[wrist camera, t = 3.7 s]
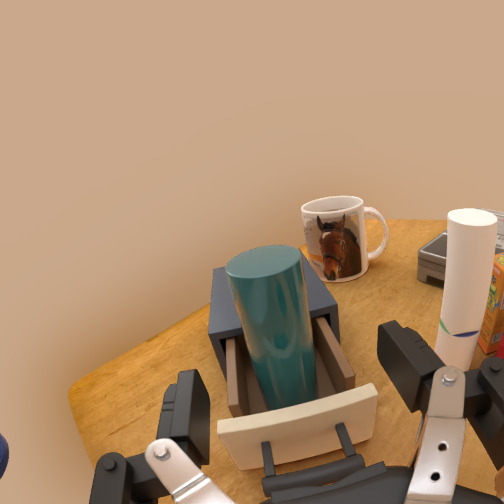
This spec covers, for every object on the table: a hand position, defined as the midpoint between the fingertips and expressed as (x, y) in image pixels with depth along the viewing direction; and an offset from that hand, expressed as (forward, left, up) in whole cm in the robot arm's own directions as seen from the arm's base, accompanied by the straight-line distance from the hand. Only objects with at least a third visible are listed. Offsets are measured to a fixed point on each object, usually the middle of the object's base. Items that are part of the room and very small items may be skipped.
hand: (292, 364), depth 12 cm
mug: (+14, +32, -13) cm, 38 cm away
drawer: (0, +6, -12) cm, 14 cm away
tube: (+16, +6, -13) cm, 22 cm away
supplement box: (+22, +6, -13) cm, 26 cm away
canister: (0, +8, -11) cm, 14 cm away
